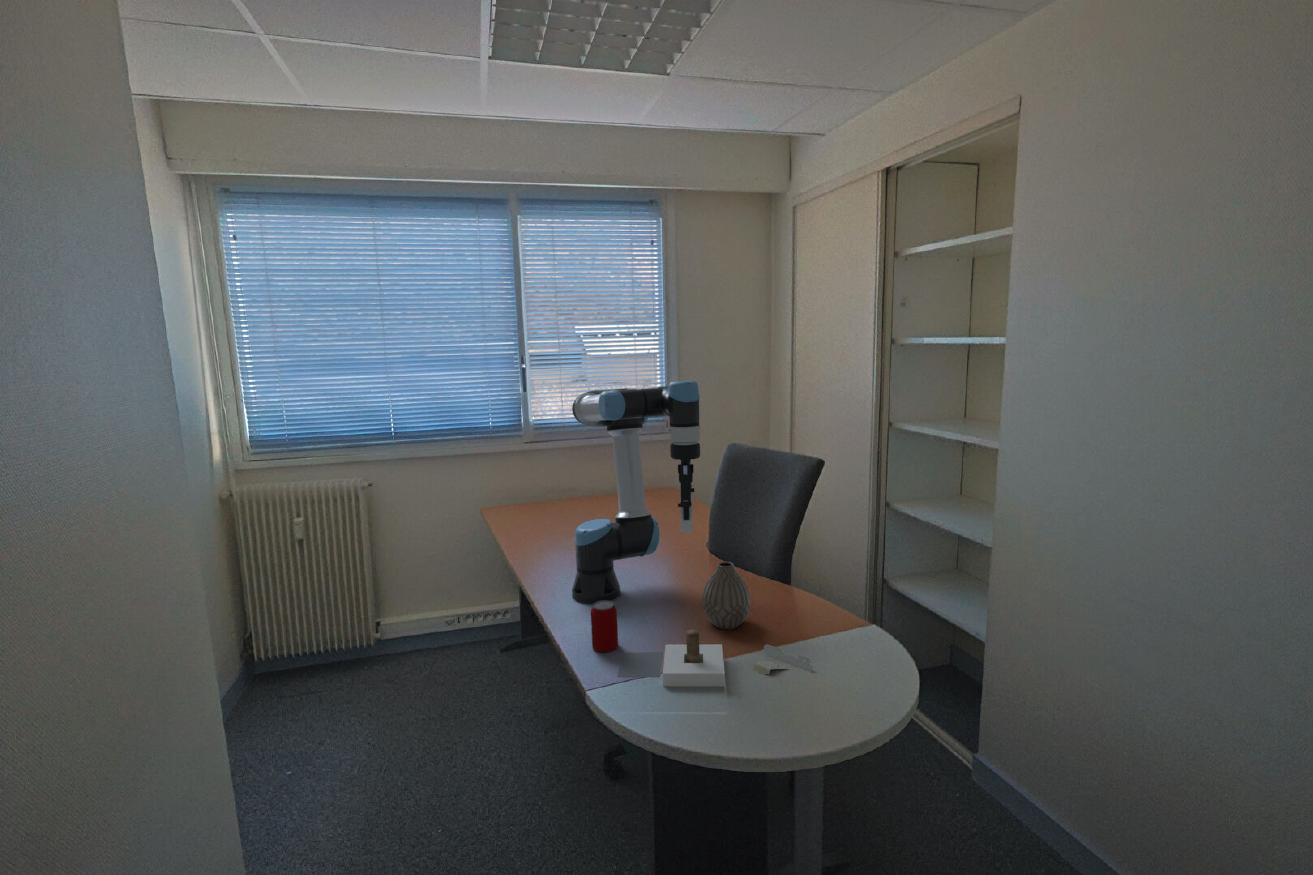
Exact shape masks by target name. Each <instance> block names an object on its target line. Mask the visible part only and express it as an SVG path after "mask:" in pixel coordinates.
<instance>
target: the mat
mask: <svg viewBox="0 0 1313 875" xmlns="http://www.w3.org/2000/svg"><path fill="white" fill-rule="evenodd" d="M662 658H663V652H660V651H659V652H650V651H649V652H644V651H643V652H639V651H637V652H636V651H635V652H633V651H631V652H627V651H626V652H622V656H621V662H620V664H619V669H618V672H617V673H618V674H617V678H661V669H662Z"/></svg>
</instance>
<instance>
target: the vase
mask: <svg viewBox="0 0 1313 875" xmlns="http://www.w3.org/2000/svg"><path fill="white" fill-rule="evenodd" d="M701 600H702V608H703V613H704V614H705V616H706V618H707V619H708V621H709V622H710V623H711V624H712V625H713V626H715V627H716V628H718V629H721V630H733V629H736V628H738V627H739V626H740V625H741V624H742V623H743V622H744V621H745V620H746V619H747V617H748V614H749V612H750V606H751V597H750V591H749V588H748V586H747V584H746V582H745V581H744V579H743V577H742V576H741V575H740V574H739V572H738V571H737V570H736V568H735V565H734V563H733V562H732V561H720V562H718V563H717V566H716V568H715V571H713V573H711V575H710V577H709V578H708V579H707V582H706V583H705V585H704V588H703V591H702V599H701Z"/></svg>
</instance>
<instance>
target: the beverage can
mask: <svg viewBox="0 0 1313 875" xmlns="http://www.w3.org/2000/svg"><path fill="white" fill-rule="evenodd" d="M617 610H618V609H617V607H616V606H615V604H614V602H613V601H612V600H611V601H607V600H603V601H598V602H595V603H594V604H592V607H591V609H590V627H591V629H590V630H591V646H592V649H593V650H594V651H596V652H599V653H610V652H612V651H614V650H616V649H618V647H619V631H618V628H619V627H618V611H617Z"/></svg>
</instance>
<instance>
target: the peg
mask: <svg viewBox="0 0 1313 875" xmlns="http://www.w3.org/2000/svg"><path fill="white" fill-rule="evenodd" d="M685 633H686V634H685V636H686V637H685V638H686V645H687V663H700V655H699V644H700V632H699V630H697V629H689V630H687V631H686V632H685Z"/></svg>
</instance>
